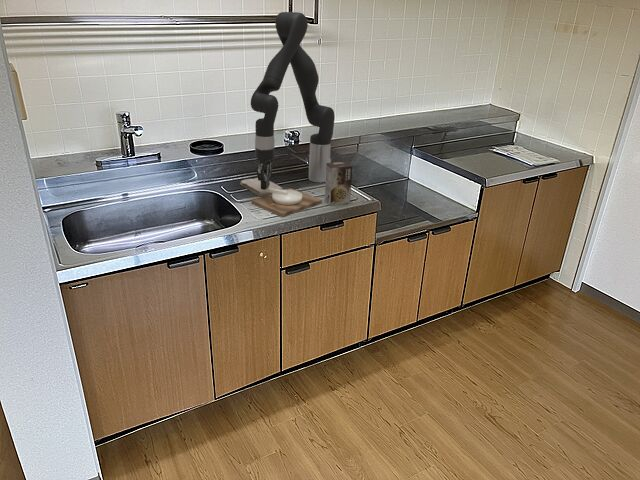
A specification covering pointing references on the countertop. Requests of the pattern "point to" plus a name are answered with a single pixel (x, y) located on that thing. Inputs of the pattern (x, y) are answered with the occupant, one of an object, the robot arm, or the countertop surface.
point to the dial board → (286, 210)
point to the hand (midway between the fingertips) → (265, 187)
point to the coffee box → (338, 183)
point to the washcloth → (258, 186)
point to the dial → (283, 195)
